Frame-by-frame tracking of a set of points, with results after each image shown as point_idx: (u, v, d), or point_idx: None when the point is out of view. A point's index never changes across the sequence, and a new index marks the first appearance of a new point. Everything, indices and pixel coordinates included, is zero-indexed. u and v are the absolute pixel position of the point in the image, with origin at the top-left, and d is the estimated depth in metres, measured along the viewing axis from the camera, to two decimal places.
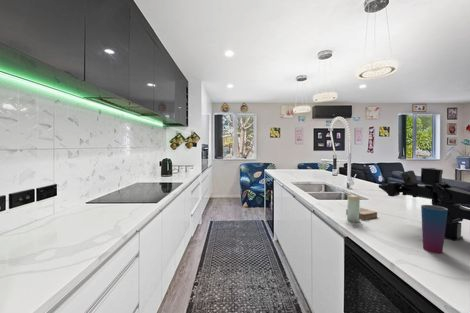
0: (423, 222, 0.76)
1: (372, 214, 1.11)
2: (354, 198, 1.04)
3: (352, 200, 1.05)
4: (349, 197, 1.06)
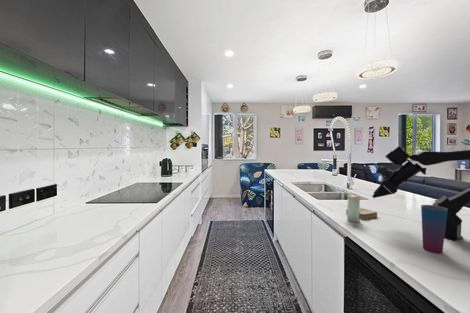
0: (423, 222, 0.76)
1: (372, 214, 1.11)
2: (354, 198, 1.04)
3: (352, 200, 1.05)
4: (349, 197, 1.06)
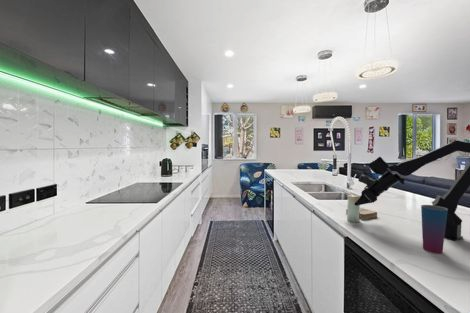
0: (423, 222, 0.76)
1: (372, 214, 1.11)
2: (354, 198, 1.04)
3: (352, 200, 1.05)
4: (349, 197, 1.06)
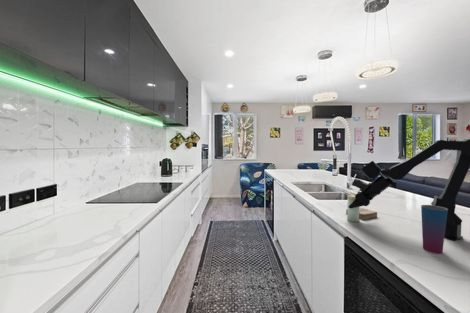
0: (423, 222, 0.76)
1: (372, 214, 1.11)
2: (354, 198, 1.04)
3: (352, 199, 1.05)
4: (349, 197, 1.06)
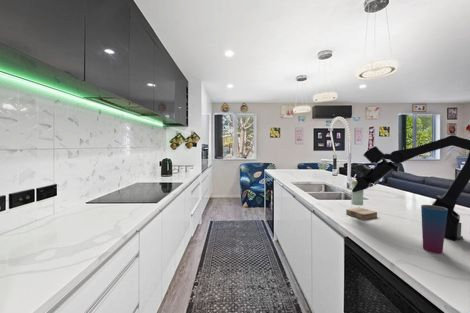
0: (423, 222, 0.76)
1: (372, 214, 1.11)
2: None
3: (355, 184, 1.09)
4: (352, 181, 1.11)
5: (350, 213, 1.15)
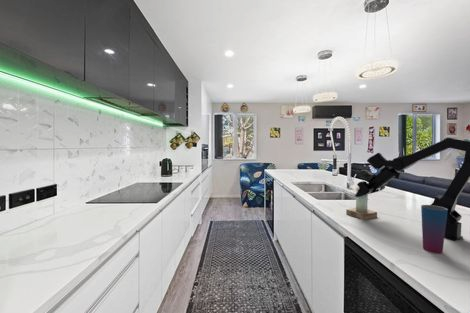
0: (423, 222, 0.76)
1: (372, 214, 1.11)
2: None
3: None
4: (357, 189, 1.14)
5: (350, 213, 1.15)
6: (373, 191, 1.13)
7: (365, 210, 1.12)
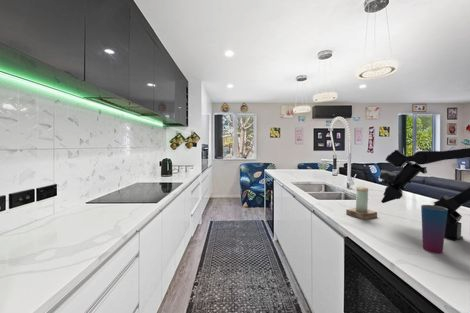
0: (423, 222, 0.76)
1: (372, 214, 1.11)
2: (361, 190, 1.12)
3: (359, 191, 1.13)
4: (357, 189, 1.14)
5: (350, 213, 1.15)
6: None
7: (365, 210, 1.12)
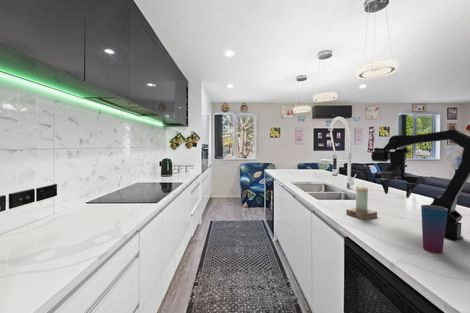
0: (423, 222, 0.76)
1: (372, 214, 1.11)
2: (360, 190, 1.12)
3: (359, 191, 1.13)
4: (356, 189, 1.14)
5: (350, 213, 1.15)
6: (388, 182, 1.08)
7: (365, 210, 1.12)
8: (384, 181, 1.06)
